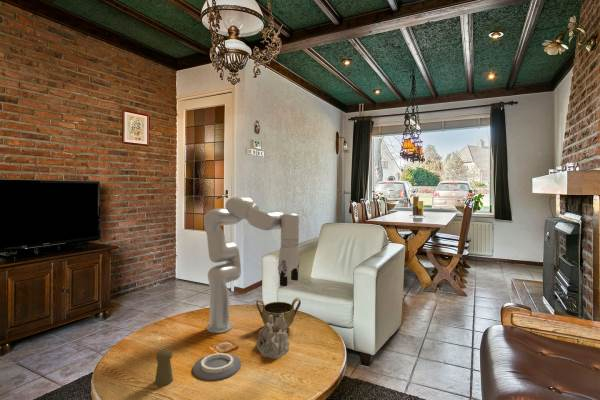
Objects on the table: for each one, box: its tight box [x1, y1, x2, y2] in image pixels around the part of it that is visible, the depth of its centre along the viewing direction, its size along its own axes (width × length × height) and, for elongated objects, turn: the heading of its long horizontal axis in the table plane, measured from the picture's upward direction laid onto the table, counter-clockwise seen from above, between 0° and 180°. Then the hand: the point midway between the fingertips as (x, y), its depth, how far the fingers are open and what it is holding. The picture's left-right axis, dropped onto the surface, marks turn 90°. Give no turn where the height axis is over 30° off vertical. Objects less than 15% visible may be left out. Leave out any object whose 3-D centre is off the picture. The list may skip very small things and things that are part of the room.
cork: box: [154, 348, 174, 387], centre depth 118 cm, size 6×6×11 cm
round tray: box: [192, 352, 242, 381], centre depth 128 cm, size 18×18×2 cm
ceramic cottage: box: [256, 313, 290, 359], centre depth 144 cm, size 16×16×15 cm
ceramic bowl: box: [255, 297, 302, 329], centre depth 165 cm, size 22×17×15 cm
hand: (289, 282), depth 139 cm, fingers open, 9 cm apart
